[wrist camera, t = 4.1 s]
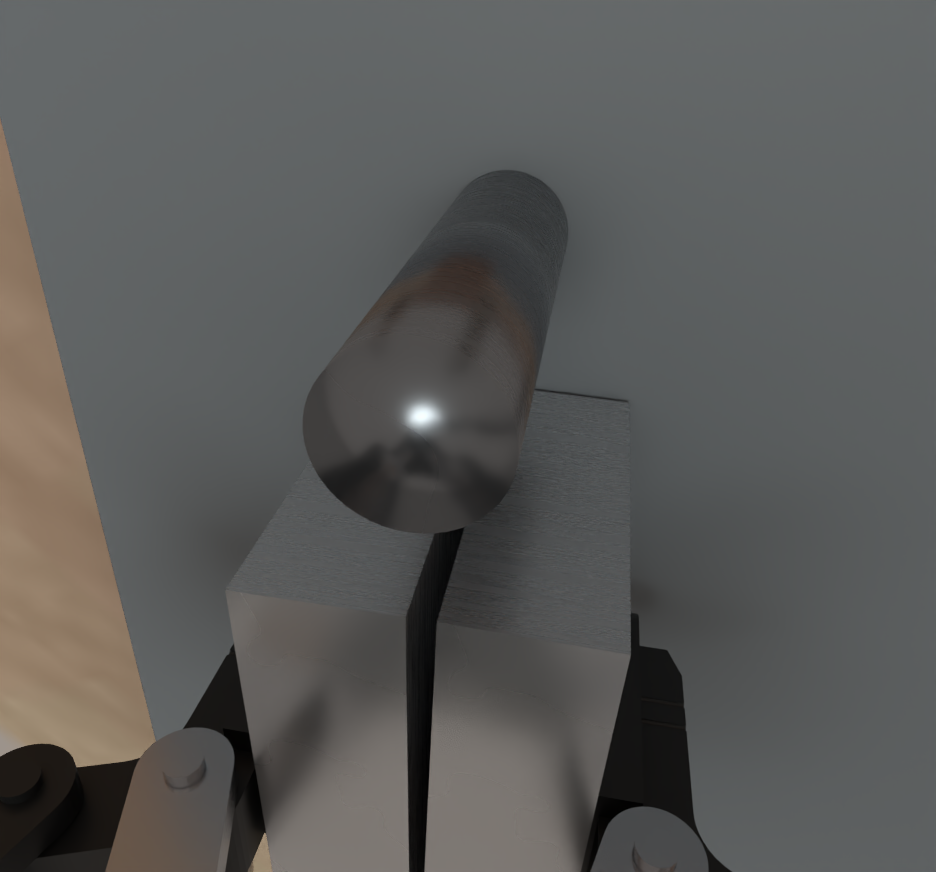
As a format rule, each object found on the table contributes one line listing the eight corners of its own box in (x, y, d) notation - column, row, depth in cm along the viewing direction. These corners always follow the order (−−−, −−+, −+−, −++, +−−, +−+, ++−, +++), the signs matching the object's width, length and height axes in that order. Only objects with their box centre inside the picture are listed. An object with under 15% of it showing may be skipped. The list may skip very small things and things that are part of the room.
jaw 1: (367, 371, 13) (224, 590, 8) (485, 384, 13) (405, 617, 8) (385, 822, 19) (309, 1088, 15) (464, 837, 19) (412, 1113, 15)
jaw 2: (506, 386, 13) (437, 621, 8) (629, 402, 13) (630, 655, 8) (464, 836, 19) (412, 1113, 15) (545, 853, 19) (518, 1139, 14)
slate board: (2109, -794, 6) (2294, -889, 5) (971, 897, 18) (985, 933, 18) (-141, -654, 9) (-207, -707, 8) (179, 749, 21) (164, 775, 20)
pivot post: (449, 165, 11) (294, 329, 6) (574, 174, 11) (527, 356, 6) (446, 284, 12) (308, 518, 7) (561, 295, 12) (511, 547, 7)
